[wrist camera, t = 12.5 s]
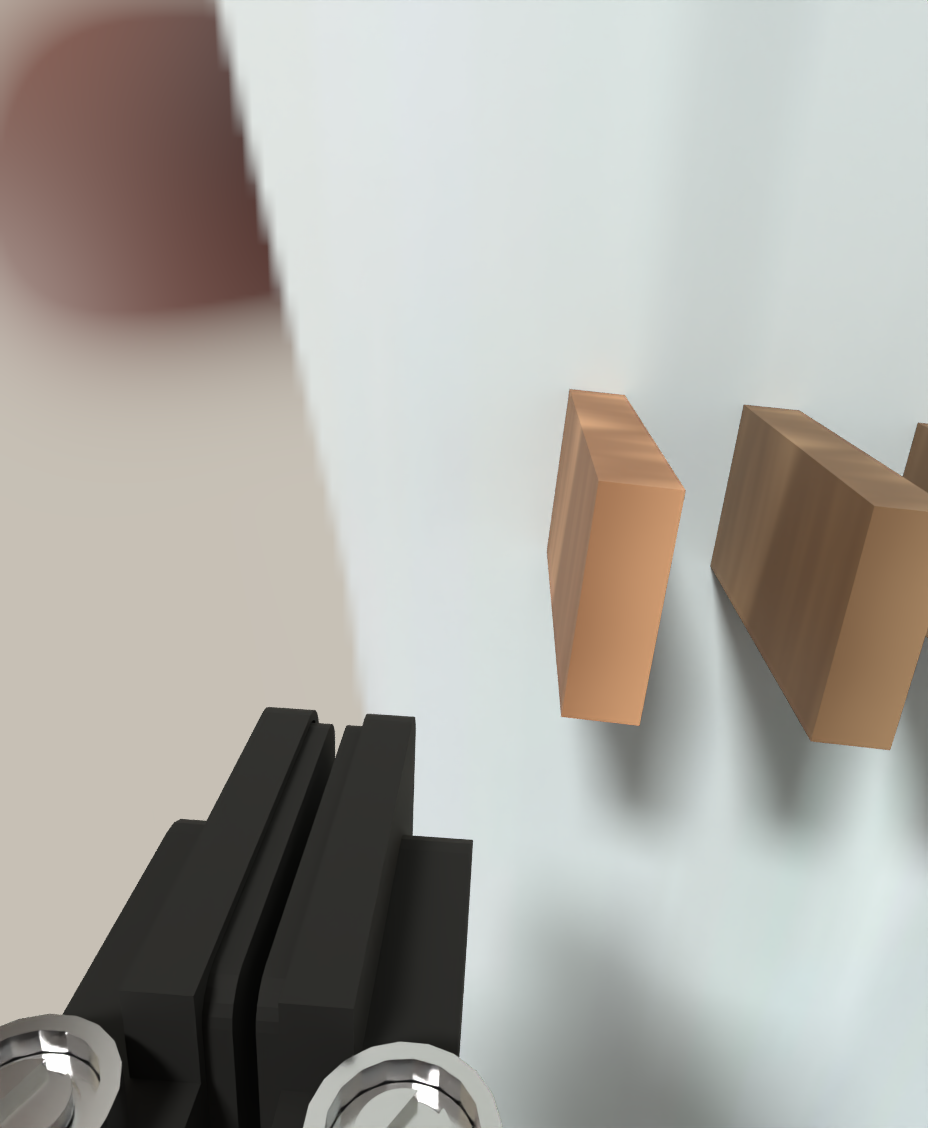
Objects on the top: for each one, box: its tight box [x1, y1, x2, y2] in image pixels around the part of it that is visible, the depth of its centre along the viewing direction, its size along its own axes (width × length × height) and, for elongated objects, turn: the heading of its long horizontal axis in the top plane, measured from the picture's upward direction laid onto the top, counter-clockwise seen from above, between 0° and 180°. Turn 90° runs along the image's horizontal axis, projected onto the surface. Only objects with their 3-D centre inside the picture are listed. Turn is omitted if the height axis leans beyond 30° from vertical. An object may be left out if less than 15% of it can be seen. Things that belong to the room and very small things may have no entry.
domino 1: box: [547, 389, 686, 726], centre depth 22 cm, size 2×5×10 cm, turn 174°
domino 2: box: [711, 405, 928, 750], centre depth 22 cm, size 2×5×10 cm, turn 175°
